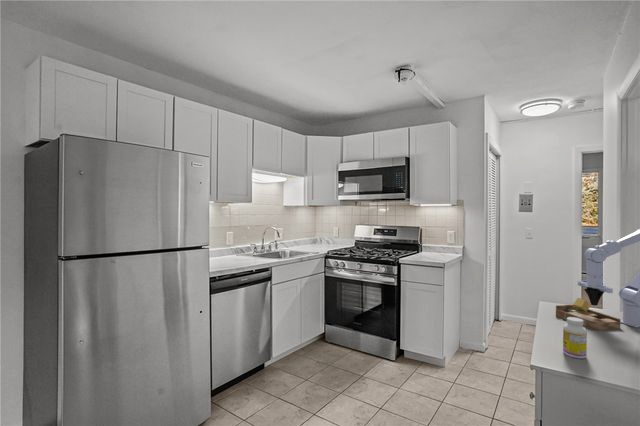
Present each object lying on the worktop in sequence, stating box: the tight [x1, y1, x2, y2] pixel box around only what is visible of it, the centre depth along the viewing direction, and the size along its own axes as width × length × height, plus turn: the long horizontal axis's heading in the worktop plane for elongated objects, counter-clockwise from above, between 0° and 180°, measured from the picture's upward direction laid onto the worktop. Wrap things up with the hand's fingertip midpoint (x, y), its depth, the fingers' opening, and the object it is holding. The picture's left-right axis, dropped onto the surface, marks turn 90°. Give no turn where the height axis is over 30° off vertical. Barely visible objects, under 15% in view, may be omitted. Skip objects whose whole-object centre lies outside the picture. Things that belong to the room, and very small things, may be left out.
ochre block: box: [573, 297, 592, 312], centre depth 157 cm, size 4×4×4 cm
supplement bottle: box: [562, 317, 588, 360], centre depth 117 cm, size 7×7×13 cm
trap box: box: [555, 303, 621, 331], centre depth 151 cm, size 13×19×5 cm
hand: (594, 305), depth 150 cm, fingers closed
